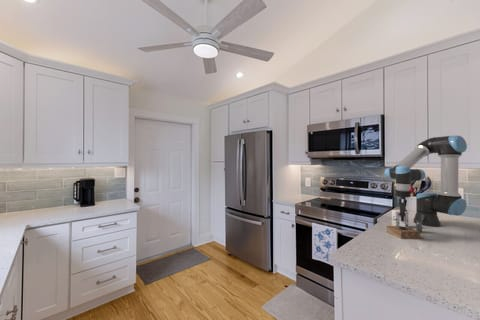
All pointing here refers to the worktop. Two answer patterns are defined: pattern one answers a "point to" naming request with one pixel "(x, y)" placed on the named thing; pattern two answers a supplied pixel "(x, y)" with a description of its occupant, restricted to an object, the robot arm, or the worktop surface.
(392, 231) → the hole block
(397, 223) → the ink box
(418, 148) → the robot arm
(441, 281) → the worktop surface
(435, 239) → the worktop surface
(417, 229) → the short pin
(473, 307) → the worktop surface
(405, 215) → the long pin
